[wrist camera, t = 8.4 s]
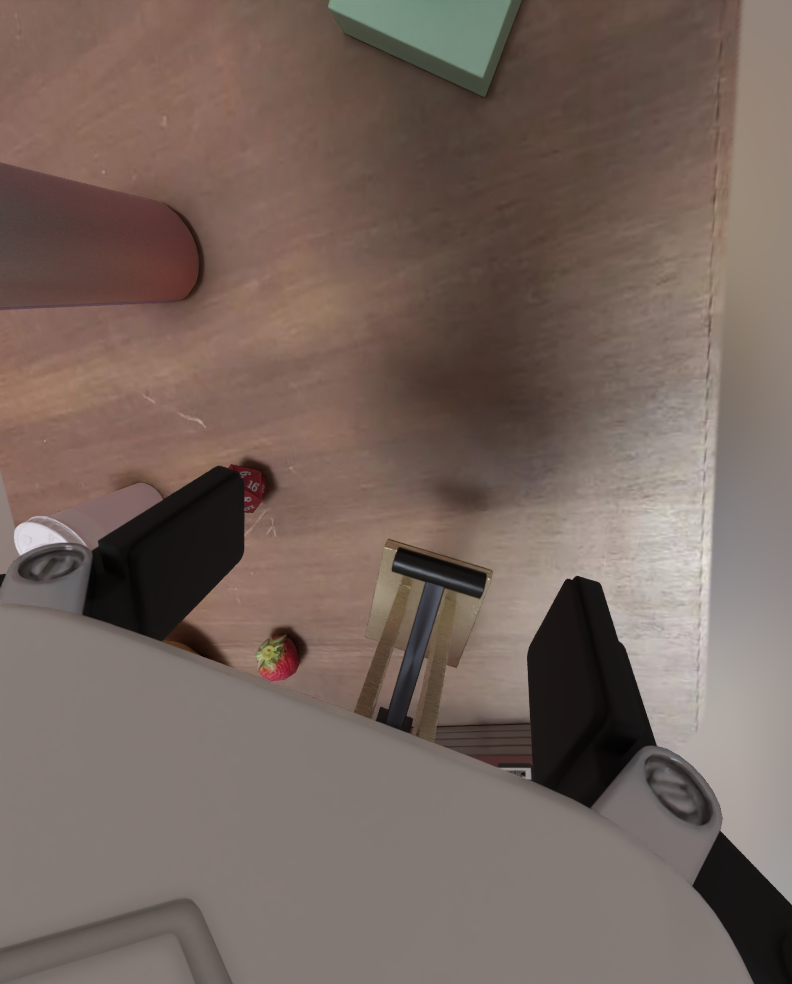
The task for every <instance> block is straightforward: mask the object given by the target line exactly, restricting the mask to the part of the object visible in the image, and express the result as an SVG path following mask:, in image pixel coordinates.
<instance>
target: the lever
mask: <svg viewBox="0 0 792 984" xmlns="http://www.w3.org/2000/svg"><path fill="white" fill-rule="evenodd" d="M391 571H392V572H394V573H397V574H401V575H404V576H407V577H410V578H413V579H417V580H420V581H423V582H425V584H424V588H423V591H422V595H421V598H420V602H419V605H418V609H417V612H416V616H415V619H414V623H413V626H412V630H411V633H410V637H409V640H408V644H407V647H406V650H405V654H404V657H403V661H402V664H401V668H400V671H399V675H398V678H397V682H396V685H395V689H394V692H393V696H392V699H391V703H390V706H389V710H388V709H386V708H383V707H380V709H379V713H378V716H377V719H376V721H377V722H380V723H383V724H385V725H388V726H390V727H393V728H396V729H398V730H401V731H404V732H406V733H409V734H410V732H411V726H412V721H413V718H411V717H408V716H406V715H407V712H408V709H409V705H410V702H411V699H412V695H413V692H414V689H415V686H416V682H417V679H418V676H419V672H420V669H421V666H422V662H423V659H424V656H425V652H426V649H427V646H428V643H429V639H430V636H431V633H432V629H433V626H434V623H435V619H436V616H437V613H438V609H439V606H440V603H441V600H442V596H443V593H444V590H445V588H446V589H449V590H452V591H455V592H458V593H462V594H465V595H468V596H471V597H474V598H478V599H480V598H481V597H482V595H483V592H484V589H485V585H486V581H487V573H485V572H482V571H478V570H475V569H472V568H469V567H465V566H462V565H459V564H455V563H452V562H449V561H445V560H442V559H439V558H436V557H432V556H429V555H426V554H422V553H419V552H416V551H412V550H409V549H406V548H403V547H398V549H397V551H396V554H395V557H394V560H393V564H392V569H391Z"/></svg>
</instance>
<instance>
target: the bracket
mask: <svg viewBox="0 0 792 984" xmlns="http://www.w3.org/2000/svg"><path fill="white" fill-rule="evenodd" d="M398 547H403V548H406V549H409V550H412V551H416V552H419V553H422V554H426V555H429V556H432V557H436V558H439V559H442V560H445V561H449V562H452V563H455V564H459V565H462V566H465V567H469V568H472V569H475V570H478V571H482V572H485V573H487V581H486V585H485V589H484V592H483V595H482V597H481V598H480V599H478V598H474V597H471V596H468V595H465V594H462V593H458V592H455V591H452V590H449V589H446V588H445V590H444V593H443V596H442V600H441V603H440V606H439V609H438V613H437V616H436V619H435V623H434V626H433V629H432V633H431V636H430V639H429V643H428V646H427V649H426V652H425V656H424V657H425V658H428V662H427V666H426V671H425V676H424V681H423V685H422V690H421V695H420V700H419V704H418V709H417V714H416V718H415V723H414V728H413V733H412V735H414V736H417V737H420V738H422V739H425V740H427V741H430V742H433V743H434V740H435V734H436V728H437V721H438V715H439V709H440V702H441V696H442V690H443V684H444V677H445V671H446V665H449V666H452V667H455V668H457V666H458V663H459V661H460V658H461V655H462V653H463V650H464V648H465V645H466V643H467V640H468V638H469V635H470V633H471V630H472V628H473V625H474V623H475V620H476V618H477V615H478V613H479V610H480V608H481V605H482V603H483V600H484V598H485V595H486V592H487V590H488V587H489V585H490V582H491V580H492V571H491V570H488V569H484V568H481V567H478V566H474V565H471V564H468V563H464V562H461V561H458V560H455V559H451V558H448V557H445V556H441V555H438V554H435V553H431V552H428V551H425V550H421V549H418V548H415V547H411V546H408V545H405V544H402V543H398V542H395V541H392V540H387V542H386V544H385V546H384V550H383V555H382V559H381V564H380V569H379V574H378V578H377V583H376V588H375V593H374V597H373V602H372V607H371V612H370V616H369V621H368V626H367V631H366V635H365V637H366V638H368V639H371V640H374V641H377V642H379V644H378V646H377V649H376V652H375V655H374V657H373V660H372V663H371V666H370V668H369V671H368V674H367V677H366V680H365V682H364V685H363V688H362V691H361V693H360V696H359V699H358V702H357V705H356V707H355V710H354V713H356V714H359V715H361V716H364V717H367V718H369V719H372V715H373V712H374V709H375V706H376V703H377V700H378V696H379V693H380V690H381V687H382V684H383V680H384V677H385V674H386V671H387V668H388V664H389V661H390V658H391V655H392V652H393V649H394V647H395V648H398V649H401V650H404V651H405V650H406V647H407V644H408V640H409V637H410V633H411V630H412V626H413V623H414V619H415V616H416V612H417V609H418V605H419V602H420V598H421V595H422V591H423V588H424V584H425V582H423V581H420V580H417V579H413V578H410V577H407V576H404V575H401V574H397V573H394V572H392V571H391V569H392V564H393V560H394V557H395V554H396V551H397V549H398Z"/></svg>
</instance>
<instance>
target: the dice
mask: <svg viewBox="0 0 792 984" xmlns="http://www.w3.org/2000/svg"><path fill="white" fill-rule="evenodd" d="M229 469H232V470H235V471H238V472H239V474H240V477H241V478H243V479H244V483H245V500H244V512H247V513H254V511H255V510H256V508H257V507H258V506H259V504H260V503H261V501H262V500H263V498H264V497H265V495H266V494H267V492H268V490H269V489H268V486H267V484H266V482H265V480H264V478H263V476H262V474H261V472H260V471H257V470H254V469H251V468H246V467H242V466H237V465H232V464H231V465H230V467H229Z"/></svg>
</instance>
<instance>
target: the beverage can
mask: <svg viewBox="0 0 792 984" xmlns="http://www.w3.org/2000/svg"><path fill="white" fill-rule="evenodd" d="M198 273H199V256H198V251H197V247H196V244H195V242H194V239H193V237H192V235H191V233H190V231H189V230H188V228H187V227H186V225H185V224H184V223H183V221H182V220H181V219H180V218H179V216H178V215H177V214H176V213H175V212H174V211H172V210H171V209H170V208H169V207H167V206H166V205H164V204H162V203H160V202H157V201H154V200H150V199H146V198H142V197H138V196H134V195H129V194H125V193H121V192H117V191H113V190H109V189H105V188H101V187H97V186H93V185H89V184H85V183H81V182H77V181H73V180H69V179H65V178H61V177H57V176H53V175H48V174H44V173H40V172H36V171H32V170H28V169H24V168H20V167H16V166H12V165H8V164H4V163H0V310H10V309H32V308H55V307H77V306H100V305H123V304H145V303H168V302H176V301H179V300H181V299H183V298H185V297H186V296H187V295H188V294H189V293H190V291H191V290H192V288H193V287H194V285H195V283H196V281H197V277H198Z"/></svg>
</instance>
